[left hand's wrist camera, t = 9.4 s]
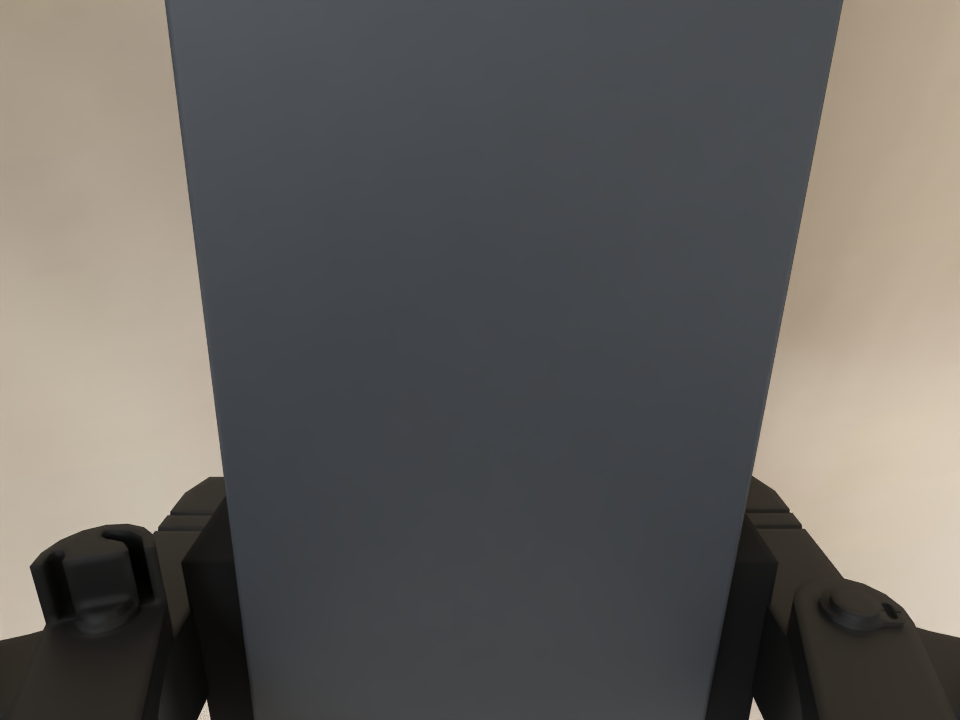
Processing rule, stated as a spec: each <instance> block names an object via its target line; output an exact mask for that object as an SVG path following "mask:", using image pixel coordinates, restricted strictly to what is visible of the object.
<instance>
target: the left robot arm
mask: <svg viewBox="0 0 960 720" xmlns="http://www.w3.org/2000/svg"><path fill="white" fill-rule="evenodd" d="M30 570H31V573H32V577H33V580H34V584H35V587H36V590H37V594H38V597H39V601H40V604H41V608H42V611H43V615H44V618H45V622H46V625H45V627H44V630H43V631H39V632H36V633H32V634H29V635H24V636H19V637H15V638H10V639H6V640H1V641H0V720H197V719H198V717H199V715H200V713H201V710H202V708H203V706H204V704H205V702H206V700H207V702H208V707H209V713H210V718H211V720H254V715H253V707H252V699H251V691H250V683H249V675H248V667H247V659H246V651H245V643H244V635H243V627H242V618H241V610H240V602H239V594H238V586H237V578H236V570H235V562H234V554H233V546H232V538H231V530H230V522H229V514H228V506H227V498H226V490H225V482H224V477H209V478H207V479H206V480H204V481H203V482H201V483H200V484H198V485H196V486H195V487H193V488H192V489H190V490H189V491H187V492H186V493H185V494H184V495H183V496H182V497H181V499H180V500H179V501H178V503H177V504H176V505H175V506H174V508H173V509H172V510H171V512H170V515H167V517H166V518H165V519H164V521H163V522H162V523H161V524H160V526H159V527H158V531H155V532H154V533H153V534H152V533H150V532H149V531H148V530H147V529H145V528H144V527H140V526H135V525H131V524H114V525H104V526H100V527H96V528H91V529H87V530H83V531H81V532H78V533H76V534H74V535H71V536H69V537H67V538H64V539H62V540H60V541H58V542H57V543H55V544H54V545H52V546H51V547H49V548H48V549H46V550H45V551H43V552H42V553H41V554H40V555H39V556H38V557H37V559H36V560H35V561H34V562H33V563H32V564H31V566H30ZM753 697H754V699H755V702H756V704H757V706H758V708H759V710H760V712H761V714H762V716H763V719H764V720H960V638H958V637H954V636H949V635H945V634H940V633H935V632H931V631H927V630H924V629H920V628H917V627H916V626H915V624H914V622H913V621H912V620H911V618H910V617H909V615H908V614H907V613H906V611H905V610H904V608H902V607H901V606H900V605H899V604H897V603H896V602H895V601H893V600H892V599H891V598H889V597H888V596H887V595H886V594H884V593H882V592H880V591H877V590H875V589H873V588H871V587H869V586H867V585H865V584H862V583H859V582H855V581H851V580H848V579H844V578H843V577H842V575H841V574H840V573H839V572H838V570H837V569H836V568H835V567H834V565H833V564H832V563H831V561H830V560H829V559H828V558H827V556H826V555H825V554H824V553H823V551H822V550H821V549H820V547H819V546H818V545H817V544H816V542H815V541H814V540H813V539H812V537H811V536H810V535H809V533H808V532H807V531H806V530H805V529H802V525H801V523H800V522H799V521H798V519H797V518H796V517H795V516H794V514H793V513H790V509H789V508H788V507H787V505H786V504H785V503H784V502H783V500H782V499H781V498H780V497H779V495H778V494H777V493H776V492H775V491H774V490H773V489H771V488H770V487H768V486H767V485H765V484H764V483H762V482H761V481H759V480H758V479H756V478H755V477H753V476H752V477H751V482H750V487H749V493H748V498H747V503H746V508H745V513H744V519H743V524H742V529H741V534H740V539H739V545H738V550H737V555H736V560H735V565H734V571H733V576H732V581H731V586H730V591H729V597H728V602H727V607H726V612H725V617H724V623H723V628H722V633H721V638H720V643H719V649H718V654H717V659H716V664H715V669H714V675H713V680H712V685H711V690H710V695H709V701H708V706H707V711H706V716H705V720H749V715H750V710H751V705H752V700H753Z"/></svg>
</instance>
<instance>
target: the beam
mask: <svg viewBox="0 0 960 720" xmlns="http://www.w3.org/2000/svg"><path fill="white" fill-rule="evenodd" d="M842 4H843V0H165V6H166V14H167V23H168V31H169V39H170V47H171V55H172V63H173V71H174V79H175V87H176V95H177V103H178V111H179V119H180V127H181V135H182V143H183V151H184V159H185V168H186V176H187V184H188V192H189V200H190V208H191V216H192V224H193V232H194V240H195V248H196V256H197V264H198V272H199V280H200V288H201V296H202V304H203V312H204V321H205V329H206V337H207V345H208V353H209V361H210V369H211V377H212V385H213V393H214V401H215V409H216V417H217V425H218V433H219V441H220V449H221V457H222V465H223V474H224V482H225V490H226V498H227V506H228V514H229V522H230V530H231V538H232V546H233V554H234V562H235V570H236V578H237V586H238V594H239V602H240V610H241V618H242V627H243V635H244V643H245V651H246V659H247V667H248V675H249V683H250V691H251V699H252V707H253V715H254V720H705V716H706V711H707V706H708V701H709V695H710V690H711V685H712V680H713V675H714V669H715V664H716V659H717V654H718V649H719V643H720V638H721V633H722V628H723V623H724V617H725V612H726V607H727V602H728V597H729V591H730V586H731V581H732V576H733V571H734V565H735V560H736V555H737V550H738V545H739V539H740V534H741V529H742V524H743V519H744V513H745V508H746V503H747V498H748V493H749V487H750V482H751V477H752V472H753V467H754V461H755V456H756V451H757V446H758V441H759V435H760V430H761V425H762V420H763V415H764V409H765V404H766V399H767V394H768V389H769V383H770V378H771V373H772V368H773V363H774V357H775V352H776V347H777V342H778V337H779V331H780V326H781V321H782V316H783V311H784V305H785V300H786V295H787V290H788V285H789V279H790V274H791V269H792V264H793V259H794V253H795V248H796V243H797V238H798V233H799V227H800V222H801V217H802V212H803V207H804V201H805V196H806V191H807V186H808V181H809V175H810V170H811V165H812V160H813V155H814V149H815V144H816V139H817V134H818V129H819V123H820V118H821V113H822V108H823V103H824V97H825V92H826V87H827V82H828V77H829V71H830V66H831V61H832V56H833V51H834V45H835V40H836V35H837V30H838V25H839V19H840V14H841V9H842Z"/></svg>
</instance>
